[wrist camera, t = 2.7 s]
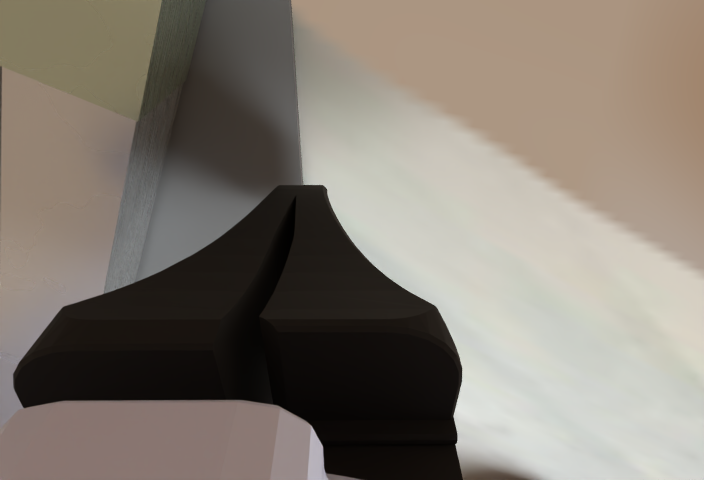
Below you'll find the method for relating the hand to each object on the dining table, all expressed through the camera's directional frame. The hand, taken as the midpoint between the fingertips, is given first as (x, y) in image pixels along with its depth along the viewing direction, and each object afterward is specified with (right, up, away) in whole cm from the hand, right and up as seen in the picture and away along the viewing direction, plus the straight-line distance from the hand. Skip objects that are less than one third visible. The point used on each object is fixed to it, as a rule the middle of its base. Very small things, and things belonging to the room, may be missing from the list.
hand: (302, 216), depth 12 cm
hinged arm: (-8, -1, +2) cm, 8 cm away
